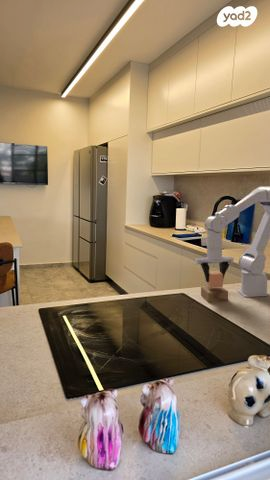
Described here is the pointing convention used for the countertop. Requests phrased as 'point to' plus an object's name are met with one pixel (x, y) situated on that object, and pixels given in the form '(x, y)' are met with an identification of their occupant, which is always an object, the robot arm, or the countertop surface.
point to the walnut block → (214, 294)
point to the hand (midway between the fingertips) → (214, 281)
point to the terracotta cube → (215, 279)
